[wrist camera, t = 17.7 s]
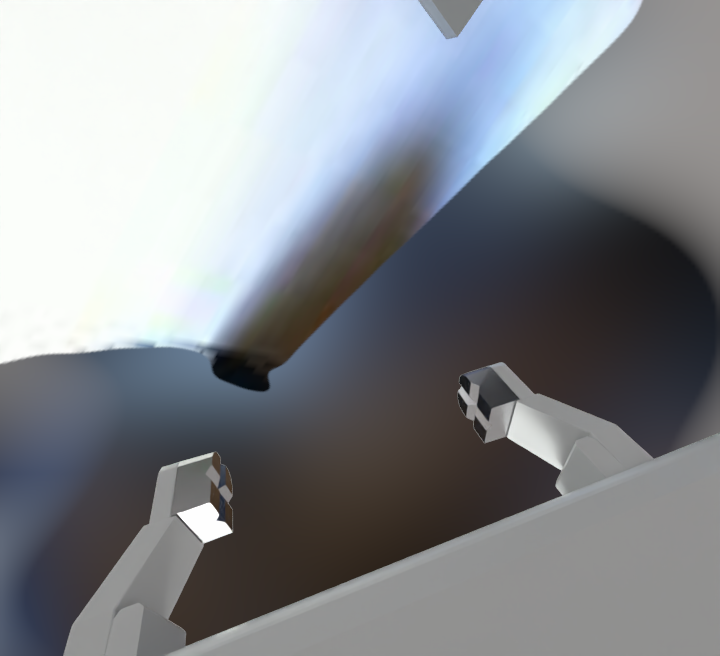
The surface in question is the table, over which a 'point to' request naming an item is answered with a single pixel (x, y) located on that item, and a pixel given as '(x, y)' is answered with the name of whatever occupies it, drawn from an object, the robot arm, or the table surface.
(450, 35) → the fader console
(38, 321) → the table surface
